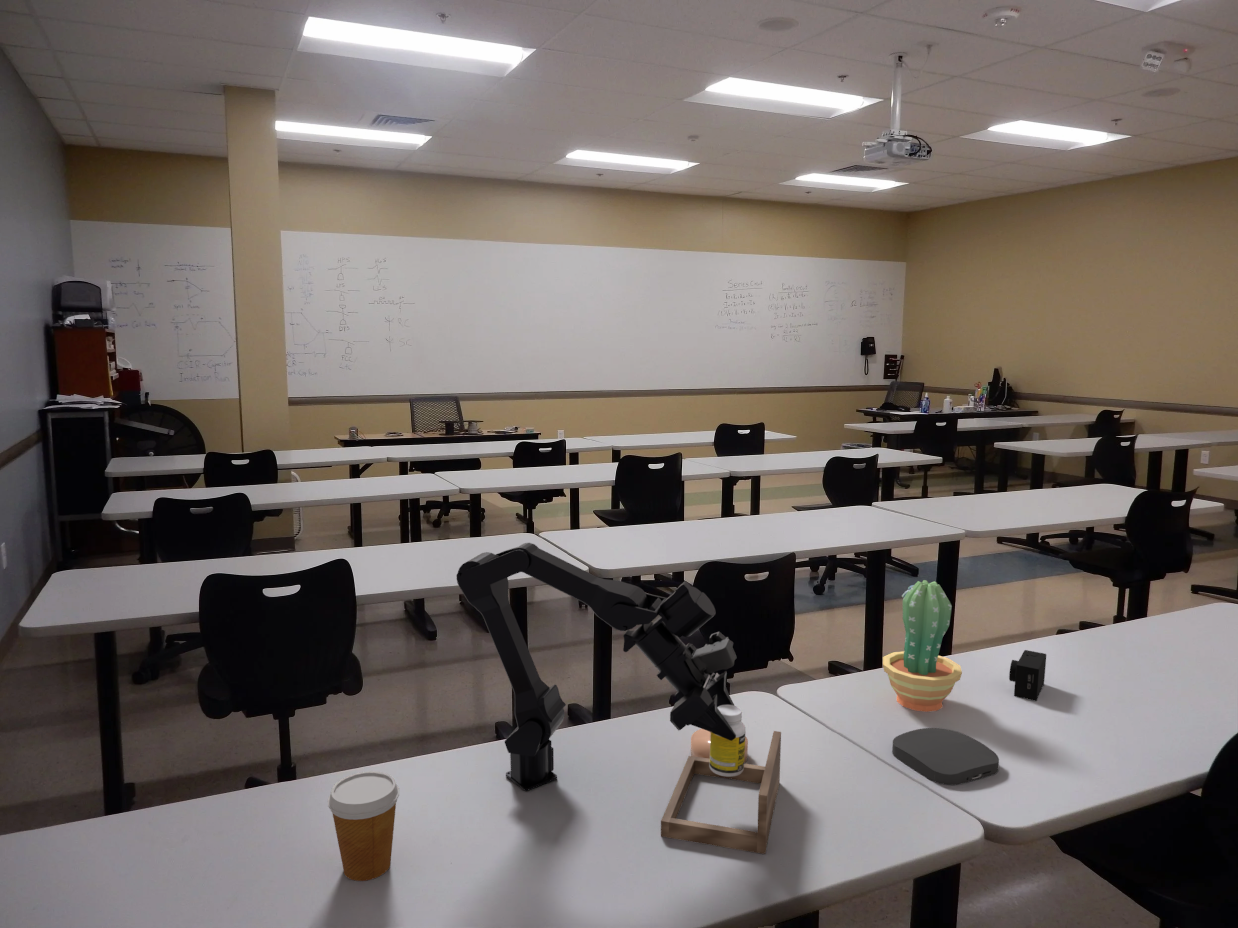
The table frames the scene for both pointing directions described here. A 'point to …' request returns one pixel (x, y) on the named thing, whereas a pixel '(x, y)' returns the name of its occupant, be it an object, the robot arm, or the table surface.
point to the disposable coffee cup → (364, 822)
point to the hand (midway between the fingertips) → (736, 730)
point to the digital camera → (1028, 674)
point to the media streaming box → (945, 755)
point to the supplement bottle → (728, 745)
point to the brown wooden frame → (721, 834)
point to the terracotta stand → (706, 744)
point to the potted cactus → (923, 651)
